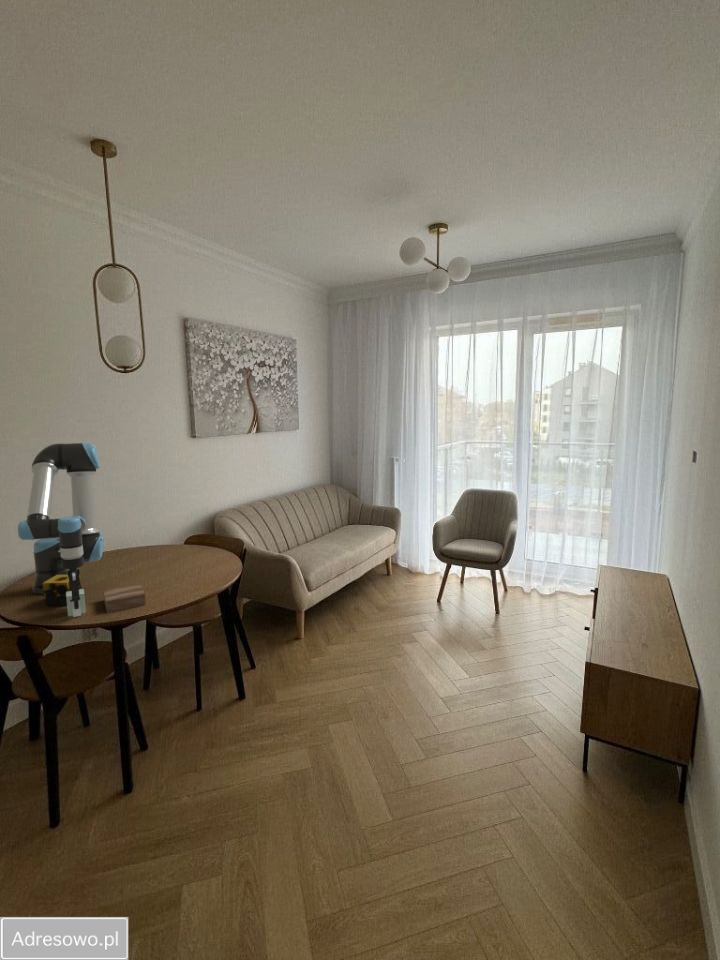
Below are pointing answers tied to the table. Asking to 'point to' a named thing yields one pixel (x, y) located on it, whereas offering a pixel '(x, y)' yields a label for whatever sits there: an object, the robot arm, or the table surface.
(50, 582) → the candle
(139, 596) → the walnut block
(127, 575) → the table surface
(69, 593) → the sage block
